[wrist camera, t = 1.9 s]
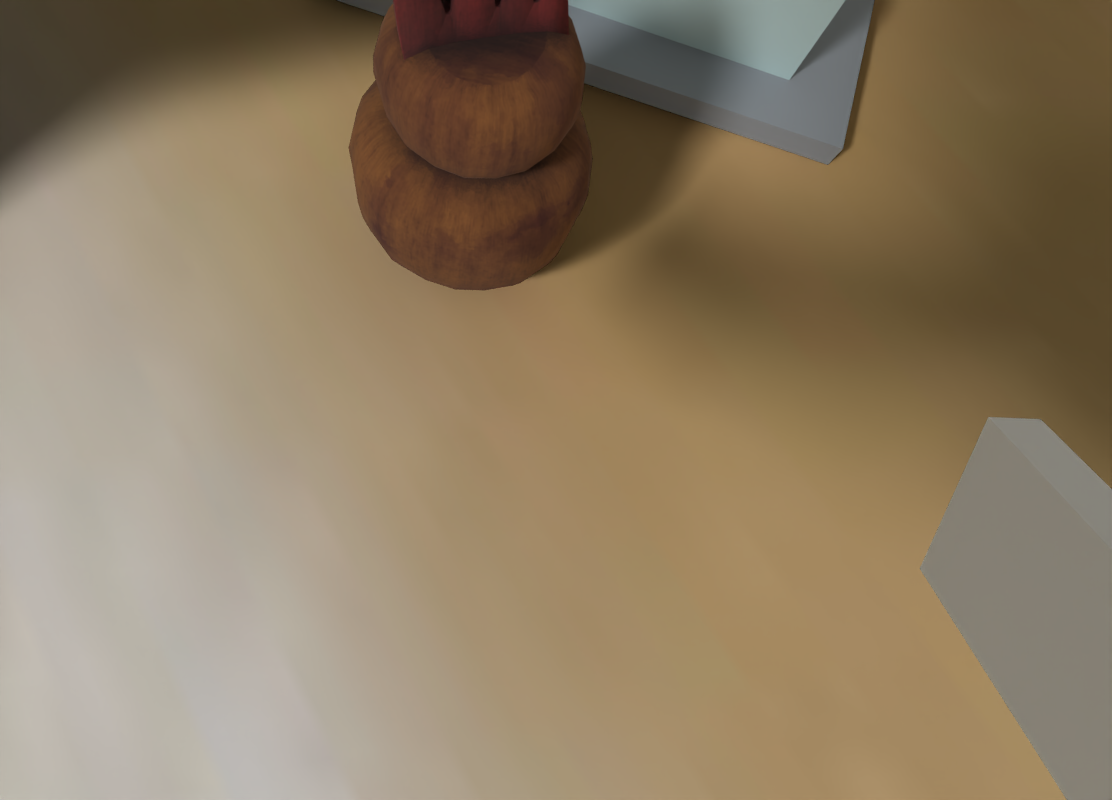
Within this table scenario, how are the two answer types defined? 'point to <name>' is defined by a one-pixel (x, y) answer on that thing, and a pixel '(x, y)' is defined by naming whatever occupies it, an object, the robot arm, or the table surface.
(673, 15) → the collar stand
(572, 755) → the table surface
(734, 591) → the table surface
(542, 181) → the wooden figurine
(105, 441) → the table surface
